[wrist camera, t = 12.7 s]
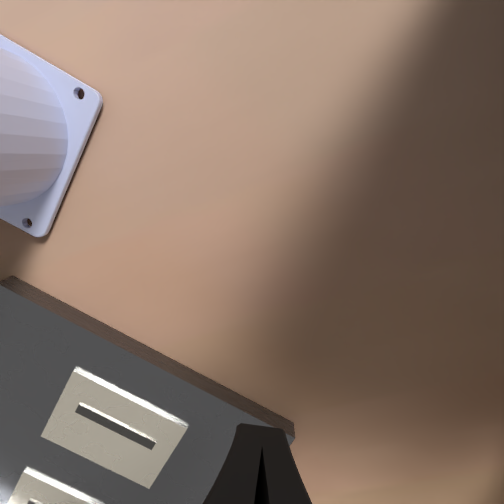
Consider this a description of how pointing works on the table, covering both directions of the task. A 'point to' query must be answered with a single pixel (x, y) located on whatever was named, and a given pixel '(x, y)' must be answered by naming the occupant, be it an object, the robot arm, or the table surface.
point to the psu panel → (105, 412)
